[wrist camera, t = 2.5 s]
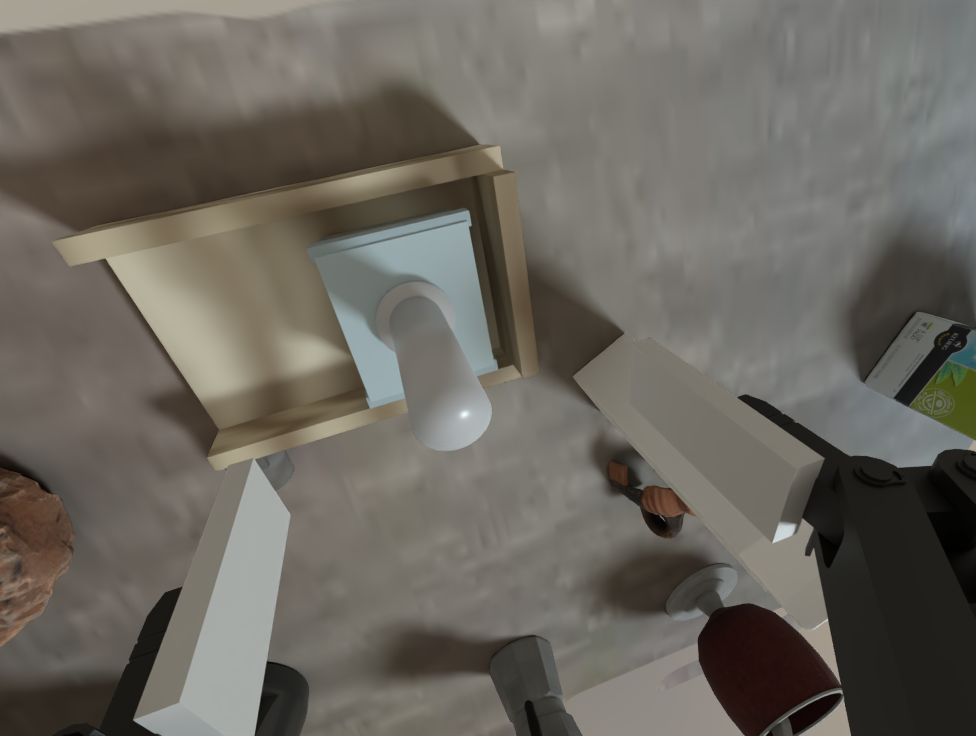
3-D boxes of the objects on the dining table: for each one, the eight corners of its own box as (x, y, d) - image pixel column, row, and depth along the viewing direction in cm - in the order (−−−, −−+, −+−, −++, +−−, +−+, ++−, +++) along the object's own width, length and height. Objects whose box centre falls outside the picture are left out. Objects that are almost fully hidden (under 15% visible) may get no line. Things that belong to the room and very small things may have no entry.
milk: (571, 375, 37) (791, 616, 18) (625, 331, 36) (911, 533, 18) (602, 413, 40) (816, 650, 22) (652, 372, 39) (918, 581, 21)
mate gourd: (755, 562, 65) (896, 710, 48) (702, 619, 69) (815, 773, 53) (690, 556, 58) (828, 726, 41) (637, 620, 63) (742, 796, 46)
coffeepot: (559, 659, 62) (627, 829, 47) (501, 689, 61) (552, 871, 46) (534, 610, 53) (608, 797, 38) (467, 644, 53) (515, 848, 37)
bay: (249, 469, 32) (230, 531, 27) (89, 227, 22) (15, 253, 17) (518, 385, 36) (546, 426, 31) (480, 144, 26) (511, 146, 21)
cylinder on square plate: (367, 371, 30) (380, 543, 17) (313, 230, 24) (275, 328, 12) (478, 338, 31) (566, 476, 18) (449, 198, 26) (545, 257, 13)
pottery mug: (599, 439, 43) (680, 461, 36) (646, 406, 48) (723, 420, 42) (609, 537, 46) (685, 572, 40) (652, 495, 52) (723, 520, 45)
